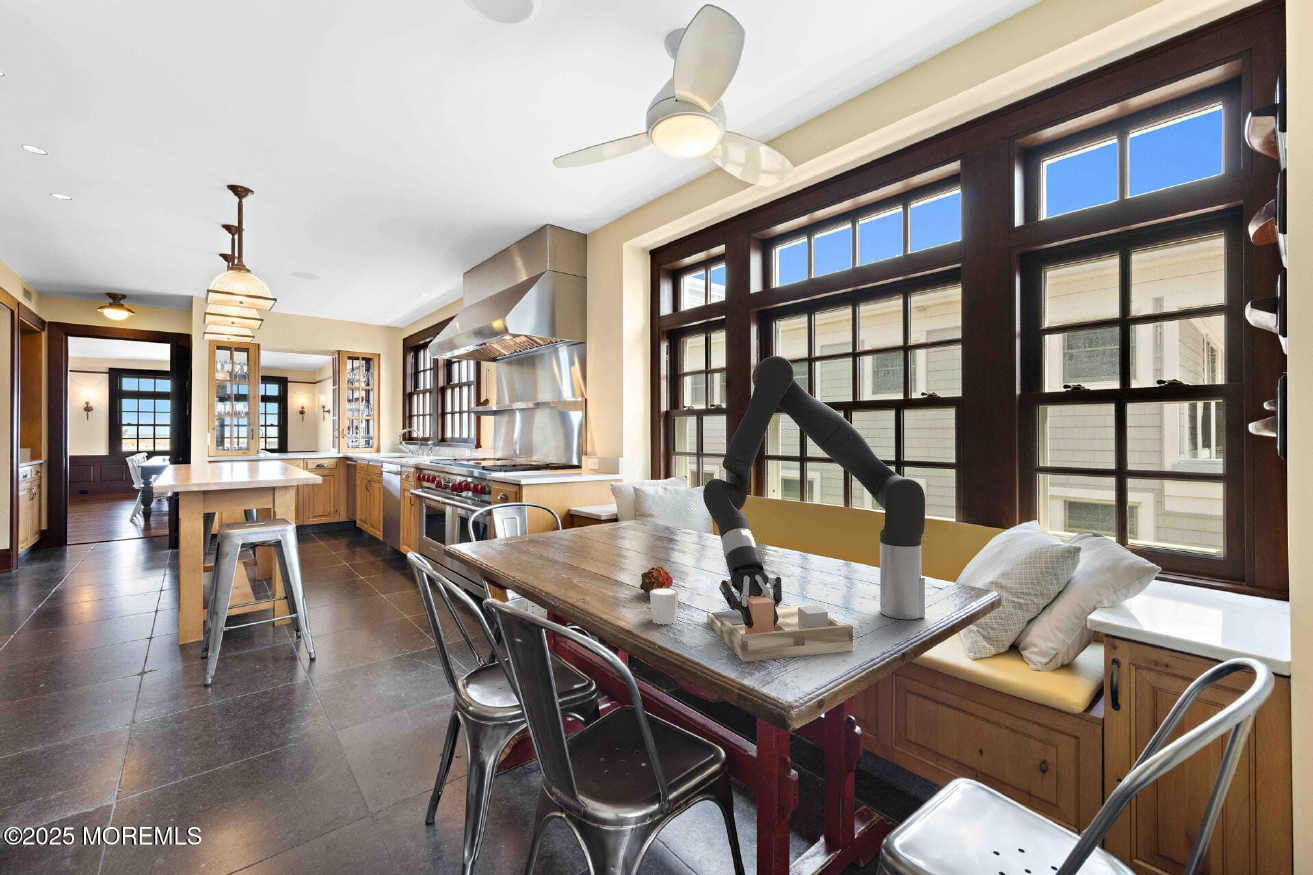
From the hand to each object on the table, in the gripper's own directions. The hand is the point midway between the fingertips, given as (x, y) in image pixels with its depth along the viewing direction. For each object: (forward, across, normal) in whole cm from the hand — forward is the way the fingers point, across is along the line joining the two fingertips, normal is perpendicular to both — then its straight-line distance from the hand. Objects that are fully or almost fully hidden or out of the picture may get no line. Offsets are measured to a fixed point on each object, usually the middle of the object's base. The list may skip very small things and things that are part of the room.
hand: (762, 625), depth 117 cm
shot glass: (-12, -15, +20) cm, 28 cm away
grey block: (+1, +12, +4) cm, 13 cm away
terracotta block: (+1, 0, +4) cm, 4 cm away
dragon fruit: (-27, -13, +35) cm, 46 cm away
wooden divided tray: (-2, +6, +9) cm, 11 cm away
